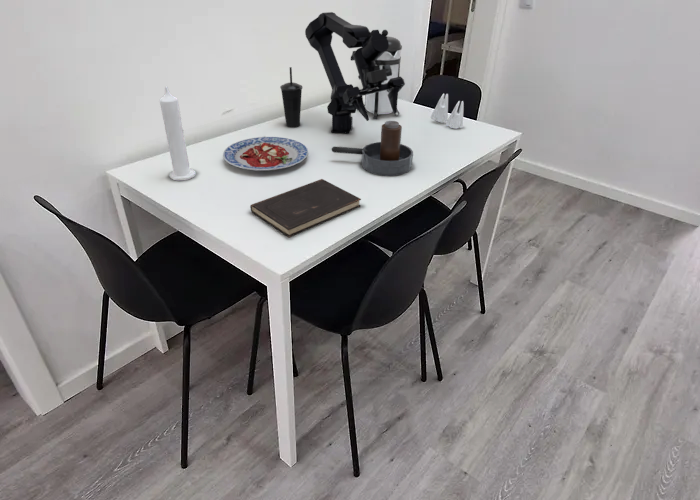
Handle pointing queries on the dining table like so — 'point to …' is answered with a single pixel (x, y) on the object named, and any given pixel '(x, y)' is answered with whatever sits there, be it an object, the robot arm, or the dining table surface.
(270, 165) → the ceramic plate
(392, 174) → the pan
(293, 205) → the hardcover book
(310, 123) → the dining table surface
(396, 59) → the coffee press
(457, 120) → the shaker set
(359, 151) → the pan handle
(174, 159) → the candle
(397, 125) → the pepper mill
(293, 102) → the drinking cup
